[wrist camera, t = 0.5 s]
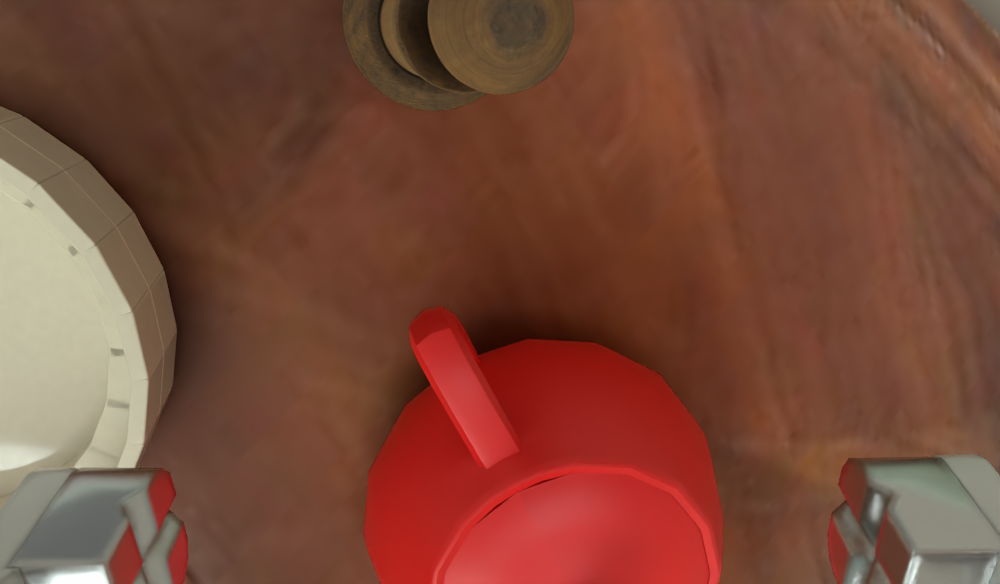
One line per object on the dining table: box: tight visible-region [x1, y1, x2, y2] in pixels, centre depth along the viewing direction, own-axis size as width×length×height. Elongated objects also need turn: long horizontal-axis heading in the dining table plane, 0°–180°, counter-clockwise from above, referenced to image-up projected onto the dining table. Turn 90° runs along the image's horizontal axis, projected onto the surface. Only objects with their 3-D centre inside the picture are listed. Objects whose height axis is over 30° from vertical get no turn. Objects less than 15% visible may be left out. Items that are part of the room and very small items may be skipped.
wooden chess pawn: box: [343, 0, 574, 111], centre depth 24 cm, size 7×6×18 cm
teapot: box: [363, 306, 723, 584], centre depth 34 cm, size 25×16×12 cm, turn 27°
